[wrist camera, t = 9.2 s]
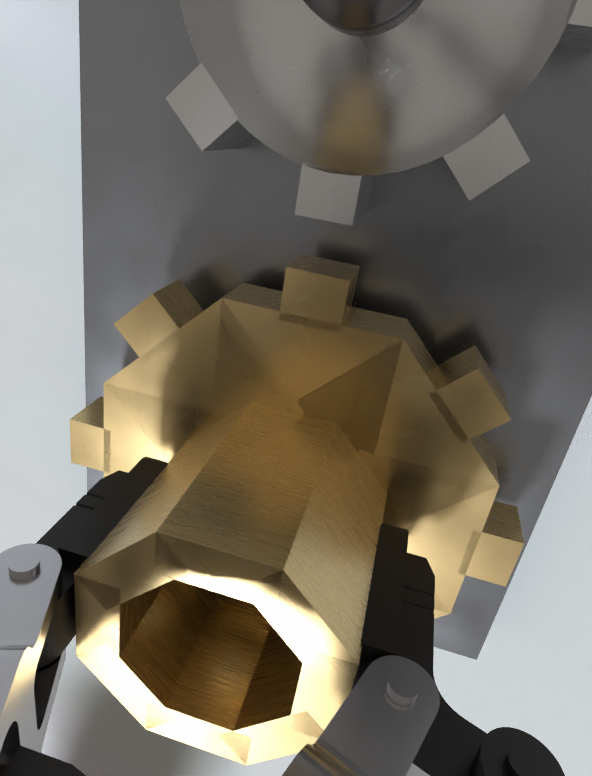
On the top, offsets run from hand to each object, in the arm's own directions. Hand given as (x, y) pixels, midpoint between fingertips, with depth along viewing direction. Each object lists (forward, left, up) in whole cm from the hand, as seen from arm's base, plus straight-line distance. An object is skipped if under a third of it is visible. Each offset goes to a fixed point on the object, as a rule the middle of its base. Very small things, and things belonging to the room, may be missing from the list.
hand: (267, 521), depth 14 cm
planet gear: (0, 0, -2) cm, 2 cm away
